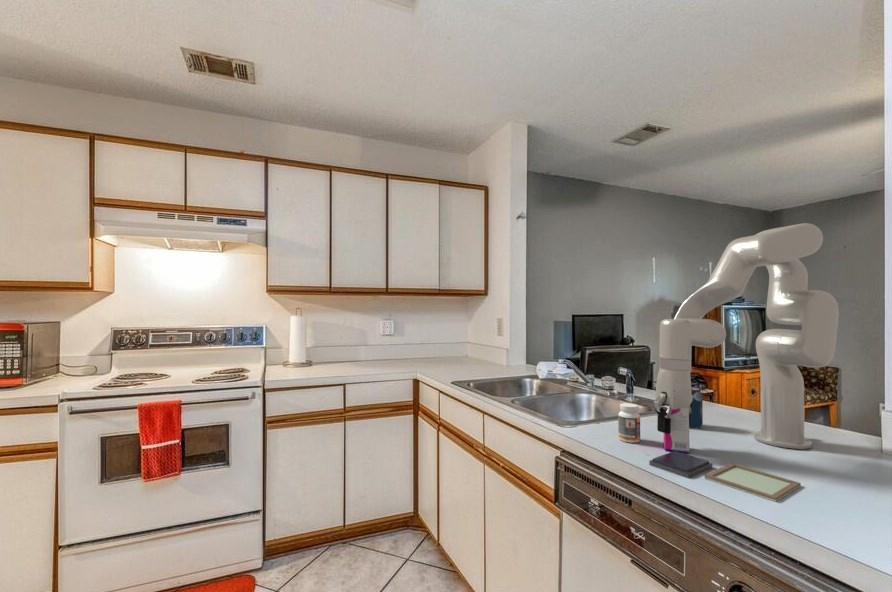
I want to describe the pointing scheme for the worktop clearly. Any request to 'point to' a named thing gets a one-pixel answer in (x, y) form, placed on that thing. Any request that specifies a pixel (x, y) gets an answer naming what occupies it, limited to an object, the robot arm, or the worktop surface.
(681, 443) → the supplement box
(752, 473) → the brown picture frame
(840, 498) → the worktop surface
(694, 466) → the pad
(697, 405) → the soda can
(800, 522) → the worktop surface
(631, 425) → the pill bottle
